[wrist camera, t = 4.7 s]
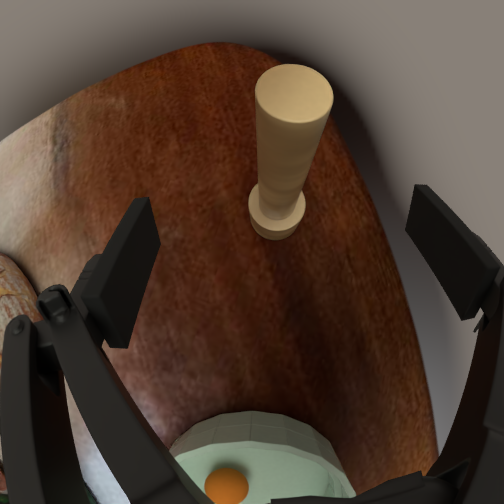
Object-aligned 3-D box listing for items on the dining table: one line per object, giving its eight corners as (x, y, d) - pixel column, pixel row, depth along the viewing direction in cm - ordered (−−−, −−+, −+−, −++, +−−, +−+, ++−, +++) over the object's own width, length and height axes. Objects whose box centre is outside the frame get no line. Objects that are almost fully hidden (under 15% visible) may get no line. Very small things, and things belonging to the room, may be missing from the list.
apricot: (257, 470, 24) (256, 493, 20) (238, 496, 23) (235, 519, 19) (218, 454, 24) (212, 475, 20) (201, 480, 24) (193, 502, 20)
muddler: (307, 205, 28) (369, 77, 10) (286, 248, 27) (330, 165, 9) (263, 184, 28) (265, 37, 10) (241, 226, 28) (208, 113, 10)
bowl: (370, 443, 24) (396, 477, 17) (285, 547, 22) (288, 586, 16) (210, 376, 26) (193, 402, 19) (145, 494, 24) (123, 530, 17)
